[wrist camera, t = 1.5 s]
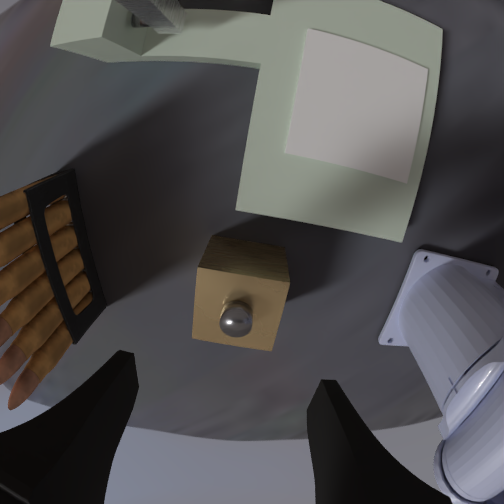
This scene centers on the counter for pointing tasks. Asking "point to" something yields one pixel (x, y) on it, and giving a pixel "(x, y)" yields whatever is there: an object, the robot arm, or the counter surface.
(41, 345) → the ammunition clip
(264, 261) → the housing
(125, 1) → the lever
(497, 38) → the counter surface
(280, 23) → the frame
